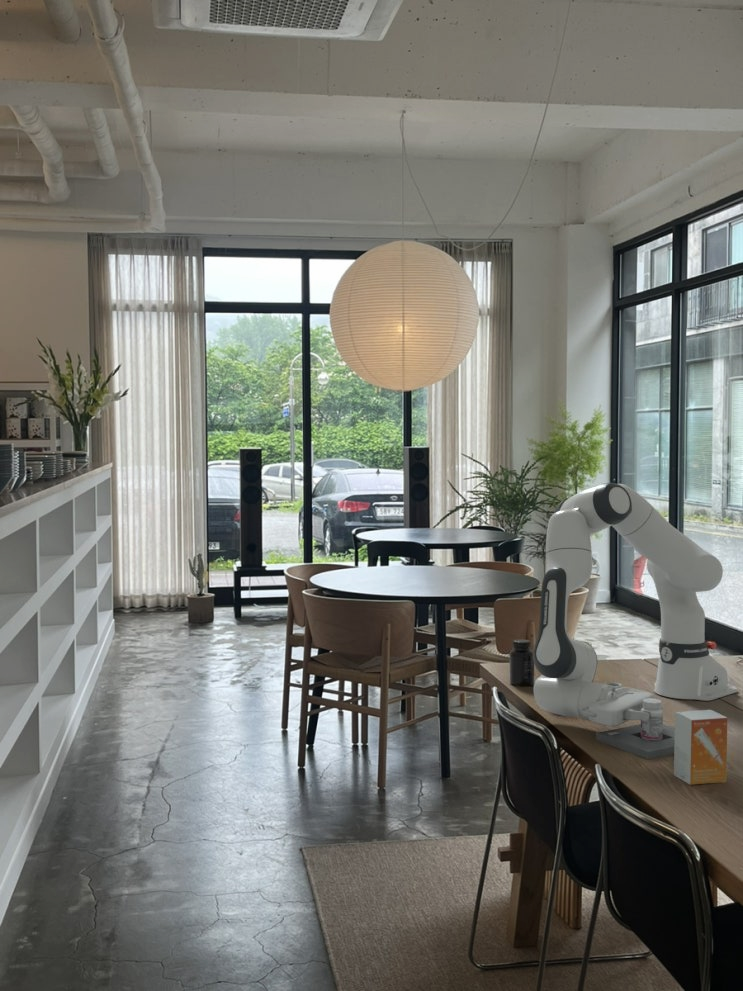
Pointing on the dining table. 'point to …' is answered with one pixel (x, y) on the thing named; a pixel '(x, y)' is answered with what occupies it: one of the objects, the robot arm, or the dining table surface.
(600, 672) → the dining table surface
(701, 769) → the small box
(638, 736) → the socket plate
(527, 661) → the supplement bottle
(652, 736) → the pill bottle
